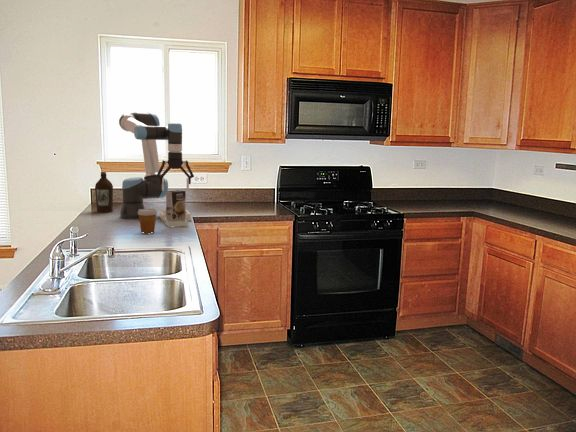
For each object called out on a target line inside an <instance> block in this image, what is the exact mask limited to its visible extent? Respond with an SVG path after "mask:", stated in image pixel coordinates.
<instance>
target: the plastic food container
mask: <svg viewBox="0 0 576 432" xmlns="http://www.w3.org/2000/svg"><path fill="white" fill-rule="evenodd" d="M158 211H159V213H158V215H159V219H160V220H161V221H162V222H163V221H165V220H164V218H166V209H159V210H158ZM191 217H192V216H191V212H189V210H187V209H186V220H187V221H188V222H189V221H191Z"/></svg>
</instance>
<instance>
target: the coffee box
mask: <svg viewBox="0 0 576 432" xmlns="http://www.w3.org/2000/svg"><path fill="white" fill-rule="evenodd" d="M165 197H166V198H165V203H166V205H165V210H166V220H170V221H177V220H183V219H186V210H187V209H186V205H187V204H186V203H187V202H186V190H168V191H166V196H165Z"/></svg>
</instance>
